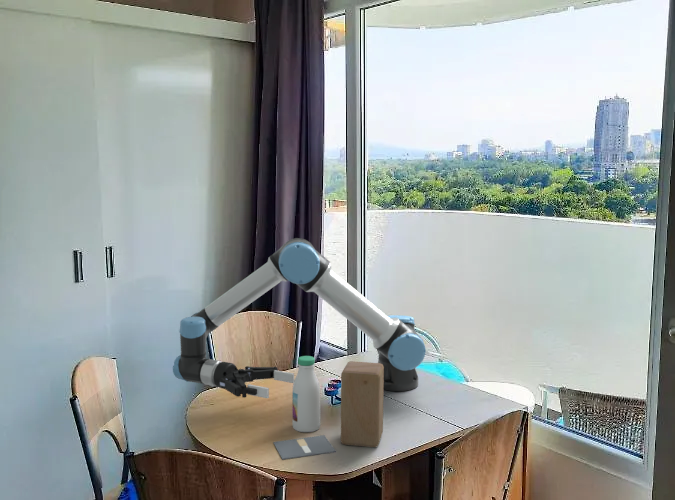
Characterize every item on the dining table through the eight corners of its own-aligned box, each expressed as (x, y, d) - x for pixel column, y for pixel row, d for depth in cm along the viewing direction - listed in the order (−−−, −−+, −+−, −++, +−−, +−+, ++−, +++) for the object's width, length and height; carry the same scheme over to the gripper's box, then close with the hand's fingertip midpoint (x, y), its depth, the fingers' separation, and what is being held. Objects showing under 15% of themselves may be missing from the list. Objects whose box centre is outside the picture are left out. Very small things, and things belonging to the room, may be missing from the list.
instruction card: (324, 436, 171) (324, 434, 171) (336, 451, 161) (336, 450, 161) (273, 443, 166) (273, 441, 166) (282, 459, 157) (282, 458, 157)
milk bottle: (324, 424, 179) (324, 355, 176) (314, 434, 172) (314, 363, 169) (298, 420, 181) (298, 352, 179) (288, 430, 174) (287, 360, 171)
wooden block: (378, 449, 163) (379, 374, 160) (340, 445, 165) (340, 371, 162) (383, 433, 173) (384, 362, 170) (347, 430, 175) (347, 359, 172)
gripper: (244, 374, 199) (303, 384, 190) (192, 400, 177) (256, 413, 168) (244, 350, 198) (303, 360, 189) (192, 374, 176) (256, 386, 167)
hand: (281, 385), depth 178 cm, fingers open, 13 cm apart
